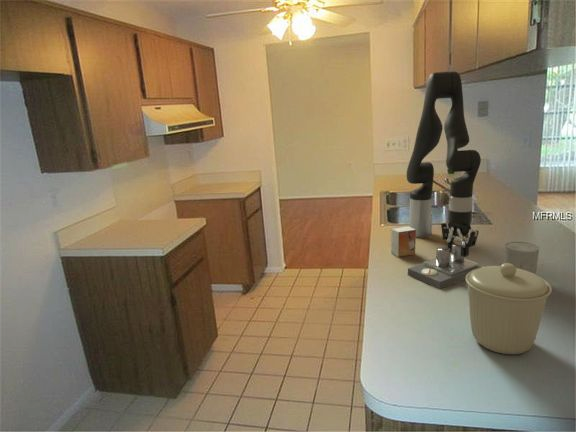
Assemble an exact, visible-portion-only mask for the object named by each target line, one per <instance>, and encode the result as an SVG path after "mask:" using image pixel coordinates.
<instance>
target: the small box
mask: <svg viewBox="0 0 576 432" xmlns="http://www.w3.org/2000/svg"><path fill="white" fill-rule="evenodd" d="M390 239H391V240H390V242H391V244H390V253H391V254H393V255H394V256H396V257H398V258H399V257H404V256H414V255H416V239H417V237H416V230H415V229H413V228H411V227H409V225H408V226H401V227H394V228H391V235H390Z"/></svg>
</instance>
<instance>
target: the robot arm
mask: <svg viewBox="0 0 576 432" xmlns="http://www.w3.org/2000/svg"><path fill="white" fill-rule="evenodd" d="M463 94H464V93H463V84H462V79H461V75H460V73H459V72H457V71H438V72H432V73H430V75H429V76H428V79H427V81H426V86H425V94H424V100H423V108H422V112H421V117H420V120H419V123H418V127H417V131H416V137H415V141H414V145H413V150H412V154H411V157H410V160H409V162H408V165H407V169H406V180H407V182H408V183H410V184H411V185H412V184H413V185H415V184H416V185H417V184H421V185H420V186H419V187H418V188H415V189H413V190H411V191H410V193H409V219H408V221H409V222H408V223H409V225H408V226H409V227H411V228H413V229H415V230H416V238H427V237H430V235H432V234H433V232H432V231H433V214H432V197H433V196H432V195H433V190H434V189H433V187H434V186H433V185H434V177H435V172H434V170H435V169H434V165H433V163H431V162H428V161H426V162H424V161H423V160H424V159H425V158H426V157H427V156H428V155H429V154H431V152H432V151H433V150H434V149H435V148H436V147H437V146H438V145H439V142H440V140H441V136H442V133H443V129H444V133H445V134H444V135H445V138H446V145H447V146H446V147H447V148H446V159H445V165H446V167H447V169H448V170H449V171H450V172H453V173H459V172H460V173H461V172H464V173H463V175H461V176H459V177H455V178H453V179H452V180H451V181H450V191H449V199H448V211H447V212H448V216H447V220H448V222H442V223H441V224H440V226H441V227H440V228H441V236H442V239H443V240H445V241H446V242H447V248H450V254H451V252H452V243H455V242H454V241H455V239H456V237H458V238H459V241H460V243H462V245H463V247H462V257H465V258H468V256H469V255H470V248H471V247H475V246H476V243H477V239H478V236H479V230H477V229H476V230H474V229H472V227H471V223H472V221H473V220H472V218H473V206H474V205H473V203H474V202H473V193H474V190H473V189H474V183H475V180H476V177H477V174H478V171H479V169H480V166H481V163H482V160H481V159H482V158H481V156H480V155H481V154H480V153H479V151H478V150H475V149H467V150H463V149H462V148H465V147H467V145H468V144H469V143H470V135H469V133H468V128H467V124H466V118H465V111H464V110H465V109H464V95H463ZM438 99H440V100H441V99H450V100H451V108H450V109H449V111H448V113H447V116H446V119H445V120H444V125H443V123H442V121H441V119H440V117H439V114H438V113H437V110H436V101H437V100H438ZM443 127H444V128H443ZM458 149H459V150H458ZM460 149H461V150H460ZM422 161H423V162H422Z"/></svg>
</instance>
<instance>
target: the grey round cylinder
mask: <svg viewBox="0 0 576 432" xmlns="http://www.w3.org/2000/svg"><path fill="white" fill-rule="evenodd" d="M539 250H540V248H539V246H538V245H536V244H534V243H531V242H524V241H510V242H506V243H505V244H504V256H503V257H504V258H503V264H504V263H510V264H513V265H514V266H515V267H516V268H518V269H522V270H526V271H529V272H531V273H534V274H536V275H537V269H538V260H539V253H540V252H539Z"/></svg>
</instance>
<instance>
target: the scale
mask: <svg viewBox="0 0 576 432" xmlns="http://www.w3.org/2000/svg"><path fill="white" fill-rule="evenodd" d="M481 267H482V266H481V265H479V266H477V267H474V268H471V269H468V270H466V271H463V272H460V273H457V274H454V275H448V274H446V273H443V272H441V271H438V270H436V269H433V268H431V267H428V266H426V265H423V263H421V264H417V265H414V266H411V267H408V268H407V275H408V276H410V277H413V278H414V279H417V280H419V281H421V282H424V283H426V284H428V285H431V286H433V287H435V288H437V289H442V288H446V287H448V286H450V285H453V284H456V283H458V282H459V283H460V282H461V281H464V280H466V279H465V278H466V275H467V274H468V273H469V272H471V271H473V270H475V269H478V268H481Z"/></svg>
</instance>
